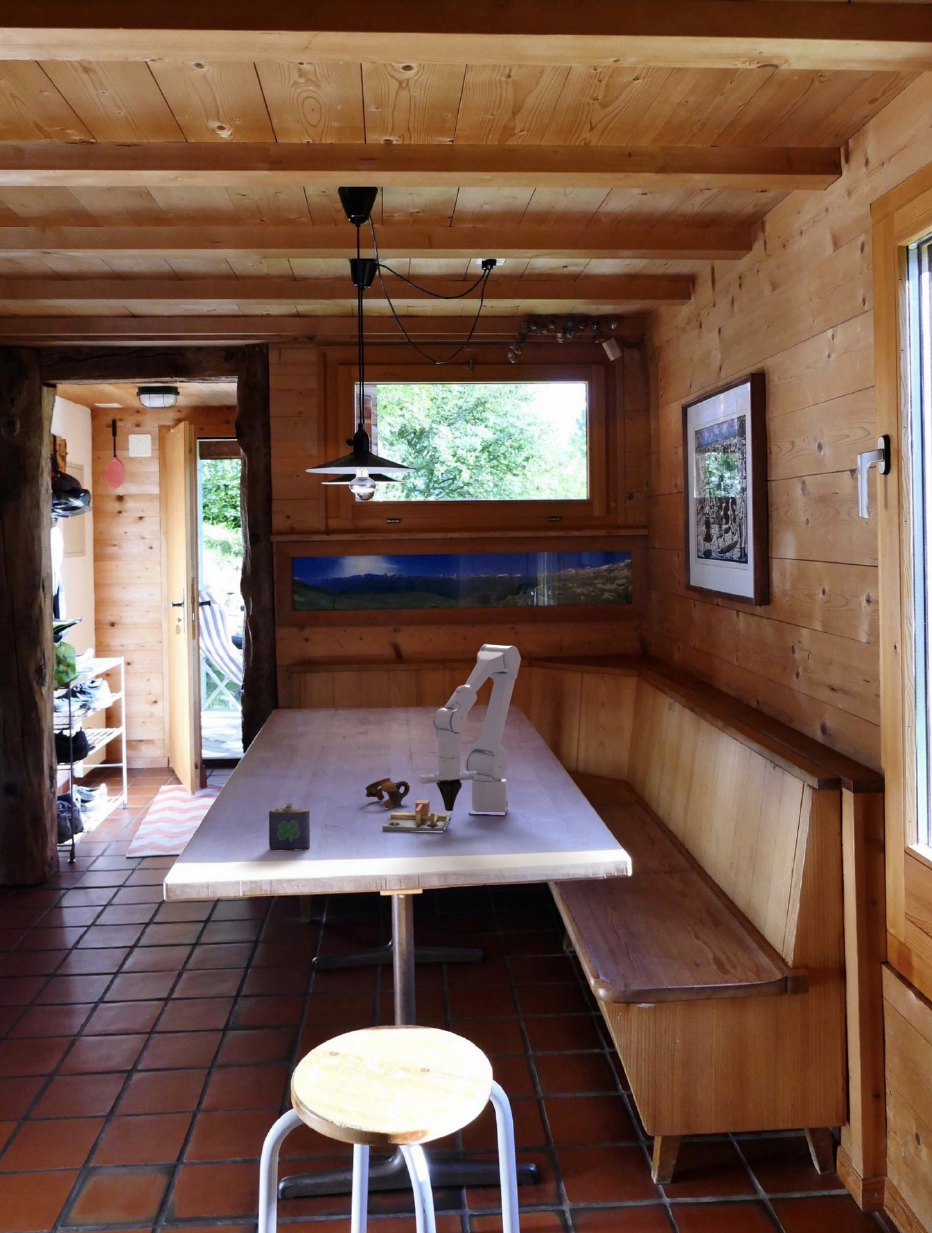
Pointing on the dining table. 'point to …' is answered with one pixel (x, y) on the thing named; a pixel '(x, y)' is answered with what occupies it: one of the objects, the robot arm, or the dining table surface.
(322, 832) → the dining table surface
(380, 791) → the pottery mug
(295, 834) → the flask
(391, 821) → the bolt plate
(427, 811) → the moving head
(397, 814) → the beam
